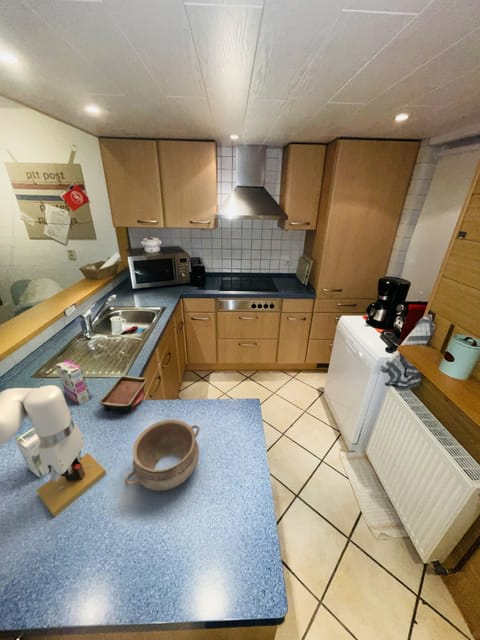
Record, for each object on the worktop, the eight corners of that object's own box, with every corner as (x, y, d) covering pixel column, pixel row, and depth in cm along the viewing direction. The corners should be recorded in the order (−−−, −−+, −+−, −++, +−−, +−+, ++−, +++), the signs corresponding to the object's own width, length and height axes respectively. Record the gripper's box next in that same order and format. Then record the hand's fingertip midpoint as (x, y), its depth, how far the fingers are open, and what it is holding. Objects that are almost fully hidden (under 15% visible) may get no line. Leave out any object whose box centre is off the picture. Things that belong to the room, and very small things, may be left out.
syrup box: (50, 456, 81) (35, 424, 75) (61, 464, 79) (47, 431, 73) (30, 472, 77) (13, 438, 71) (41, 480, 74) (25, 447, 68)
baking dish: (153, 396, 111) (150, 375, 108) (129, 422, 94) (124, 399, 91) (123, 394, 113) (120, 374, 110) (95, 419, 96) (90, 396, 94)
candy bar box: (91, 399, 105) (82, 367, 98) (79, 407, 101) (68, 374, 95) (78, 389, 111) (68, 358, 104) (66, 396, 107) (54, 364, 100)
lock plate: (55, 519, 65) (52, 512, 64) (39, 496, 70) (35, 489, 69) (107, 476, 76) (105, 469, 75) (89, 459, 81) (87, 452, 80)
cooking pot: (149, 529, 64) (142, 500, 59) (115, 480, 75) (106, 452, 70) (219, 460, 81) (218, 433, 76) (182, 429, 92) (179, 403, 87)
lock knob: (65, 478, 72) (60, 468, 70) (68, 473, 73) (64, 463, 71) (82, 479, 72) (78, 469, 70) (85, 474, 73) (81, 464, 71)
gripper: (63, 407, 72) (79, 450, 80) (16, 456, 58) (41, 504, 66) (88, 408, 72) (102, 452, 79) (47, 458, 57) (69, 506, 65)
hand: (75, 475), depth 72 cm, fingers closed, pressing on lock knob
